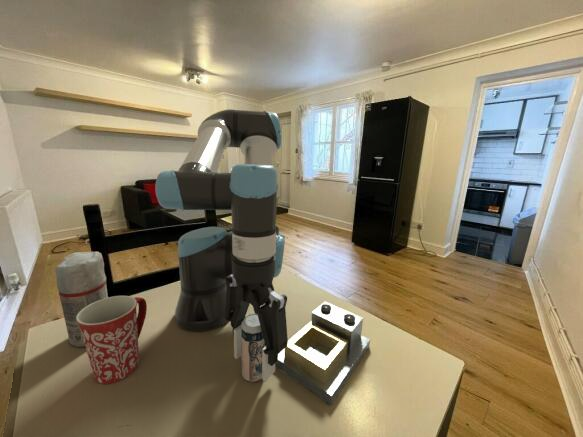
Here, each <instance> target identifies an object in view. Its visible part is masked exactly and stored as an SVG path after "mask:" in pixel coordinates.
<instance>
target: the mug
mask: <svg viewBox="0 0 583 437" xmlns="http://www.w3.org/2000/svg"><path fill="white" fill-rule="evenodd" d="M137 305H138V312H137ZM147 309H148V306H147V301H146V299H145V298H143V297H137V296H136V297H133V296H130V295H114V296H110V297H109V296H108V298H105V299H101V300H98V301H96V302H94V303H92V304H90V305H88V306H86V307H85V308H83V309H82V310H81V311H80V312H79V313H78V314H77V316H76V321H77V322H78V323H79V326H80V329H81V333H82V337H83V340H84V343H85V349H86V354H87V357H88V360H89V363H90V366H91V371H92V374H93V377H94V380H95V381H96V382H97V383H99V384H102V385H109V384H110V385H111V384H114V383H117V382H119V381H122V380H125V378H127V377H128V376H129V375H131V374H132V373H133V372H134V371H135V370H136V369H137V367H138V365H139V362H140V353H139V338H140V335H141V333H142V330H143V327H144V323H145V320H146V316H147V311H148V310H147Z"/></svg>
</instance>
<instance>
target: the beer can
mask: <svg viewBox="0 0 583 437" xmlns="http://www.w3.org/2000/svg"><path fill="white" fill-rule="evenodd" d="M241 341H242V356H241V376H242V377H243V379H244V380H246V381H247V382H252V383H253V382H257V381H260V380H263V379H262V349H263V348H264V347H265V342H264V338H263V334H262V330H261V326H260V322H259V319H258V315H257V314H255V313H251V314H248V315H246V316H245V318H244V320H243V322H242V324H241Z"/></svg>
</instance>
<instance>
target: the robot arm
mask: <svg viewBox="0 0 583 437" xmlns="http://www.w3.org/2000/svg"><path fill="white" fill-rule="evenodd" d="M281 130H282V127H281V122H280V118H279V116H278V114H277V113H275V112H272V111H266V110H263V111H260V110H259V111H258V110H256V111H255V110H244V109H243V110H242V109H231V108H230V109H223V110H220V111H217V112H214V113H212V114H211V115H209V116H208V117H206V118H205V119H204V120H203V121H202V122H201V123H200V125H199V127H198V129H197V137H196V139H195V142H194V143H193V145H192V146H191V147H190V148H191V149H190V150H189V152H188V153H187V155H186V157H185V159H184V160H183V162H182V164H181V165H180V167H179V169H178V170H173V169H172V170H164V171H161V172H159V174H158V175H157V177H156V180H155V185H154V186H155V188H154V189H155V196H156V199H157V202H158V204H159V205H160V206H161V207H162V208H164V209H168V210H180V211H206V210H207V211H231V233H228V231H227V229H226V228H225V227H222V226H221V227H220V226H207V227H202V228H198V229H194V230H190V231H188V232H186V233H184V234H183V235H181V236H180V238H179V239H178V240H177V241H178V243H177V249H178V250H177V257H178V268H179V281H180V282H179V283H180V293H179V297H178V300H177V305H176V307H175V312H174V313H175V316H174V317H175V322H176V324H177V326H178V327H180V328H181V329H183V330H185V331H189V332H205V331H211V330H214V329H216V328H219V327H222V326H223V325H225V324H227V323H228V322H230V327H231V328H232V338H233V350H234V352H233V357H234V359H235V360H238V359H239V358H241V357H242V341H241V324H242V322H243V320H244V318H245V317H246V316H247V312H248V310H249V307H250V305H251V306H252V308H253V311H254V314H257V315H258V319H259V322H260V326H261V330H262V334H263V338H264V342H265V347H264V348H263V349H262V379H261V380H262V381H263V382H266V381H267V380H268V379H269V378H270V377H271V376H272V375H274V374H275V372H276V366H275V363H276V362H277V361H278V354H279V353H280V352H281V351H282V350H283V349H284V348H285V347H287V346H288V341H289V338H288V327H287V313H286V306H287V302H288V296H287V295H286V294H284V293H283V294H282V295H280V294H278V293H277V292H276V291H275V287H274V285H273V280H274V278H277V277H279V275H280V274H281V271H282V267H283V259H284V252H285V240H286V239H285V236H286V235H285V234H284V233H282V232H280V227H279V226H278V225H277V224H276V223H277V204H278V203H277V201H278V199H277V198H278V189H279V184H278V171H277V168H276V167H275V166H274V165H273V156H275V155H276V153H277V151H278V150H280V148H281V147H282V131H281ZM227 148H238V149H239V150H240V152H241V153H242V154H243V156H244V164H243V163H241V164H240V163H236V164H234V165H233V166H232V167H231V168H230V172H218V170H219V167H220V166H221V165H220V164H221V162H222V157H223V155H224V152H225V150H226V149H227Z"/></svg>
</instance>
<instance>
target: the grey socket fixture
mask: <svg viewBox="0 0 583 437" xmlns="http://www.w3.org/2000/svg"><path fill="white" fill-rule="evenodd" d="M363 322H364V317H363V316H360V315H358V314H356V313H353V312H350V311H349V310H346V309H343V308H341V307H339V306H336V305H334V304H332V303H329V302H328V301H324V302H322V303H321V304H320V305H319V306H317V308H315V309H314V310H313V311H312V312H311V321H310V322H308V323H307V324H306V325H305V326H303V327H302V328H301V329H300V330H299V331H298V332H297V333H295V334H294V335H293V336H292V337H291V338H289V339H288V346H287V347H285V348H284V349H283V350H282V351H281V352H280V353H279V354H278V361H277V362H276V363H275V368H278V369H279V370H280V371H281V372H283V373H284V374H286V375H287V376H289V377H290V378H292V379H293V380H294V381H296V382H297V383H299V384H300V385H302V386H303V387H305V388H306V389H307V390H309V391H310V392H311V393H313V394H314V395H316V396H317V397H319V399H321V400H323V401H324V402H326V403H327V404H329V405H330V406H332V404H333V402H334V401H335V400H336V399H337V396H339V393H340V392H341V390H342V389H343V388H344V386H345V384H346V382H348V380H349V378H350V376H351V375H352V374H353V372H355V369H356V368H357V367H358V365H359V363H360V362H361V360H362V359H363V357H364V355H365V354H366V353H367V351H368V349H369V348H370V343H371V339H370V338H368V337H366V336H364V335H362V332H363V324H364V323H363Z"/></svg>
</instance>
